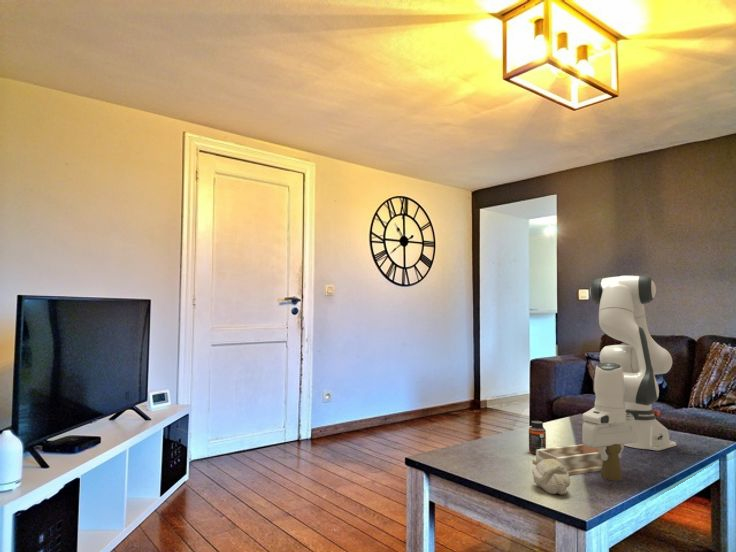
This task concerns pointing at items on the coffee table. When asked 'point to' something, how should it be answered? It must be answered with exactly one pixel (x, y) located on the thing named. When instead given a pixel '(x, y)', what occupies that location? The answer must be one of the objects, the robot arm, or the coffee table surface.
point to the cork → (612, 464)
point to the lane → (572, 458)
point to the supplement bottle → (537, 437)
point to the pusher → (589, 448)
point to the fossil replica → (551, 476)
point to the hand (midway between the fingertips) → (611, 459)
